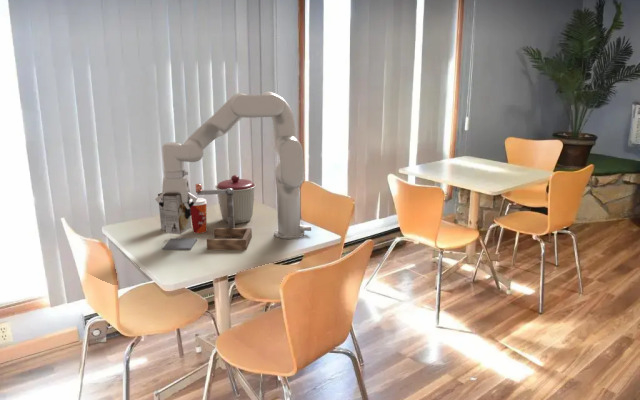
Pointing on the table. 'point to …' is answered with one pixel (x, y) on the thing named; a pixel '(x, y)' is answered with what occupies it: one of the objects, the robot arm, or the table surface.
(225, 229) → the wooden planter box
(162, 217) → the coffee box
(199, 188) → the lever
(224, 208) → the canister
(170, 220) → the coffee box
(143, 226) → the table surface
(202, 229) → the paper cup
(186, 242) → the mat
